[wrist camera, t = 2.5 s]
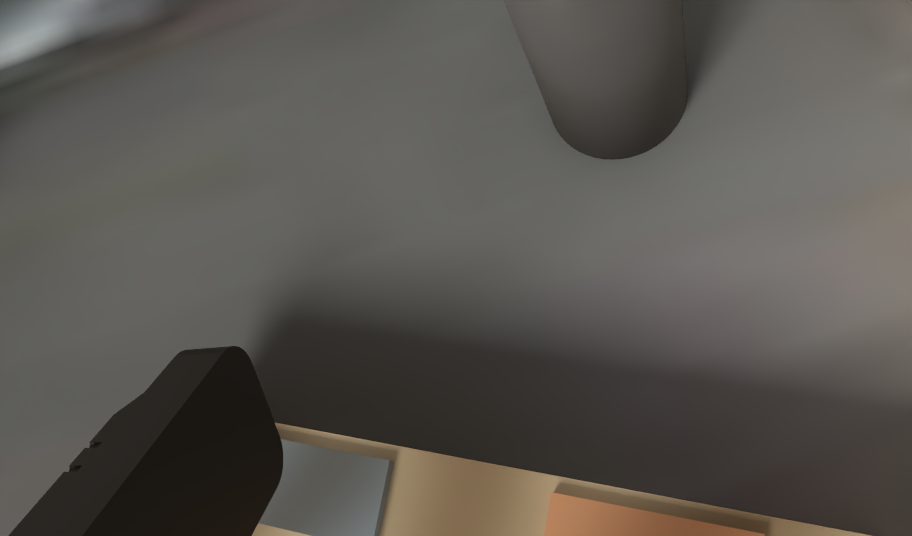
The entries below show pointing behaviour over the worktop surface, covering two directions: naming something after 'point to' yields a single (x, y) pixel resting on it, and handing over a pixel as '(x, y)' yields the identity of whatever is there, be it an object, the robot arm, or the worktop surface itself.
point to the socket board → (473, 498)
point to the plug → (607, 69)
